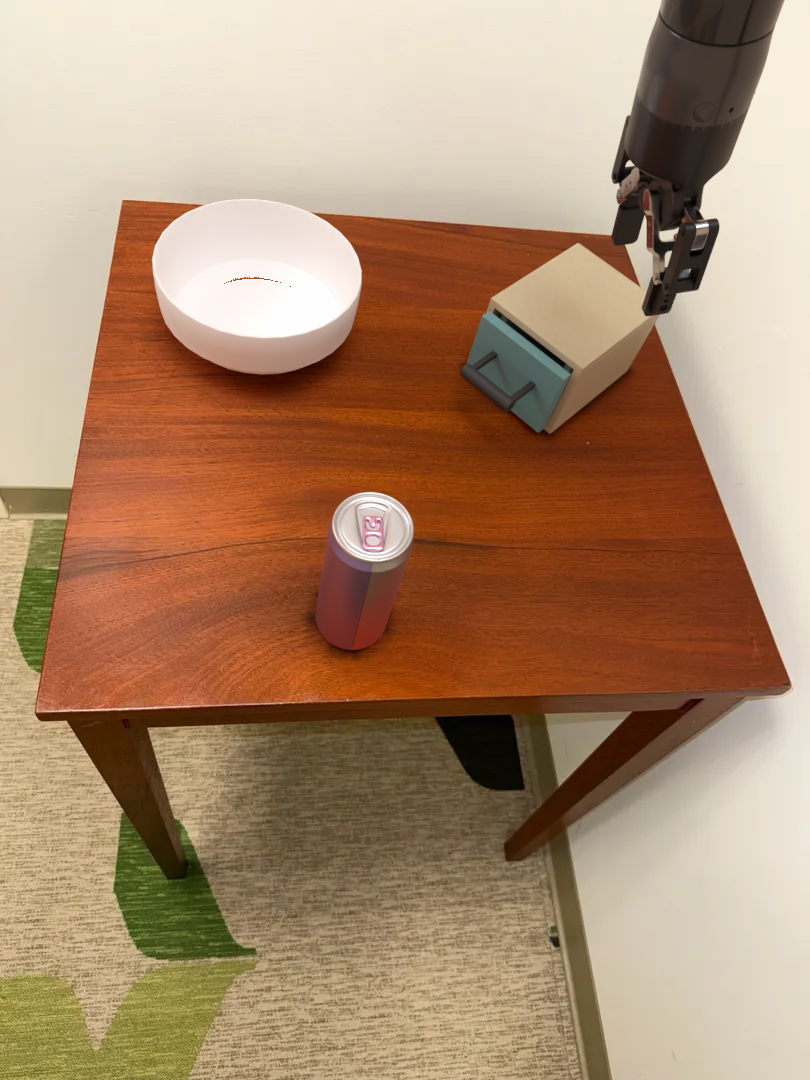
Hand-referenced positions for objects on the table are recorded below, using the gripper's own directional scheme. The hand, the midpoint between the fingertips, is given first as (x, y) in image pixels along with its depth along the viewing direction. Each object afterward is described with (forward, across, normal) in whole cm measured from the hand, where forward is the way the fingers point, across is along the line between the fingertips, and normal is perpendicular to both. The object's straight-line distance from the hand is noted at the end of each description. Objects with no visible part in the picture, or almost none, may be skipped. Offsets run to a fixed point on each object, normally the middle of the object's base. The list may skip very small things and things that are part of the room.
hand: (638, 275), depth 65 cm
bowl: (+12, +12, +34) cm, 38 cm away
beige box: (+18, +6, +4) cm, 19 cm away
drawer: (+16, +4, +7) cm, 18 cm away
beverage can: (+12, -22, +29) cm, 38 cm away
